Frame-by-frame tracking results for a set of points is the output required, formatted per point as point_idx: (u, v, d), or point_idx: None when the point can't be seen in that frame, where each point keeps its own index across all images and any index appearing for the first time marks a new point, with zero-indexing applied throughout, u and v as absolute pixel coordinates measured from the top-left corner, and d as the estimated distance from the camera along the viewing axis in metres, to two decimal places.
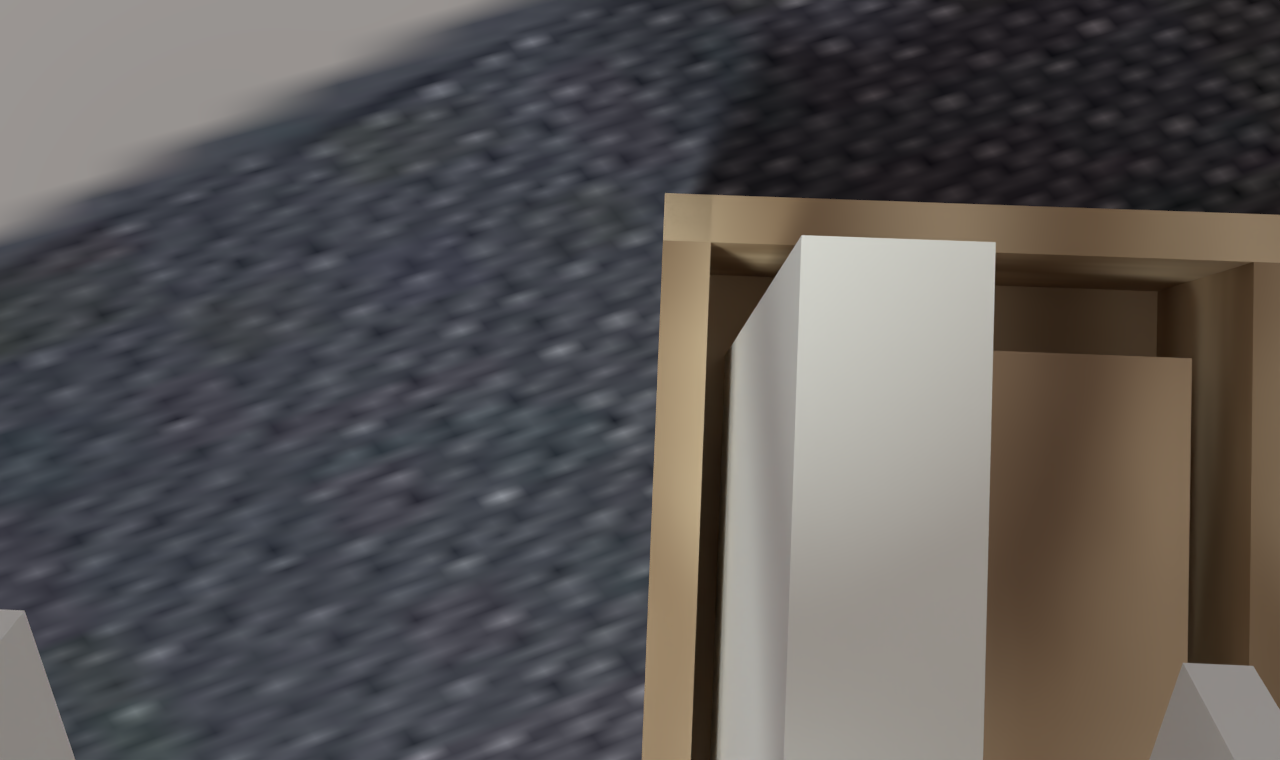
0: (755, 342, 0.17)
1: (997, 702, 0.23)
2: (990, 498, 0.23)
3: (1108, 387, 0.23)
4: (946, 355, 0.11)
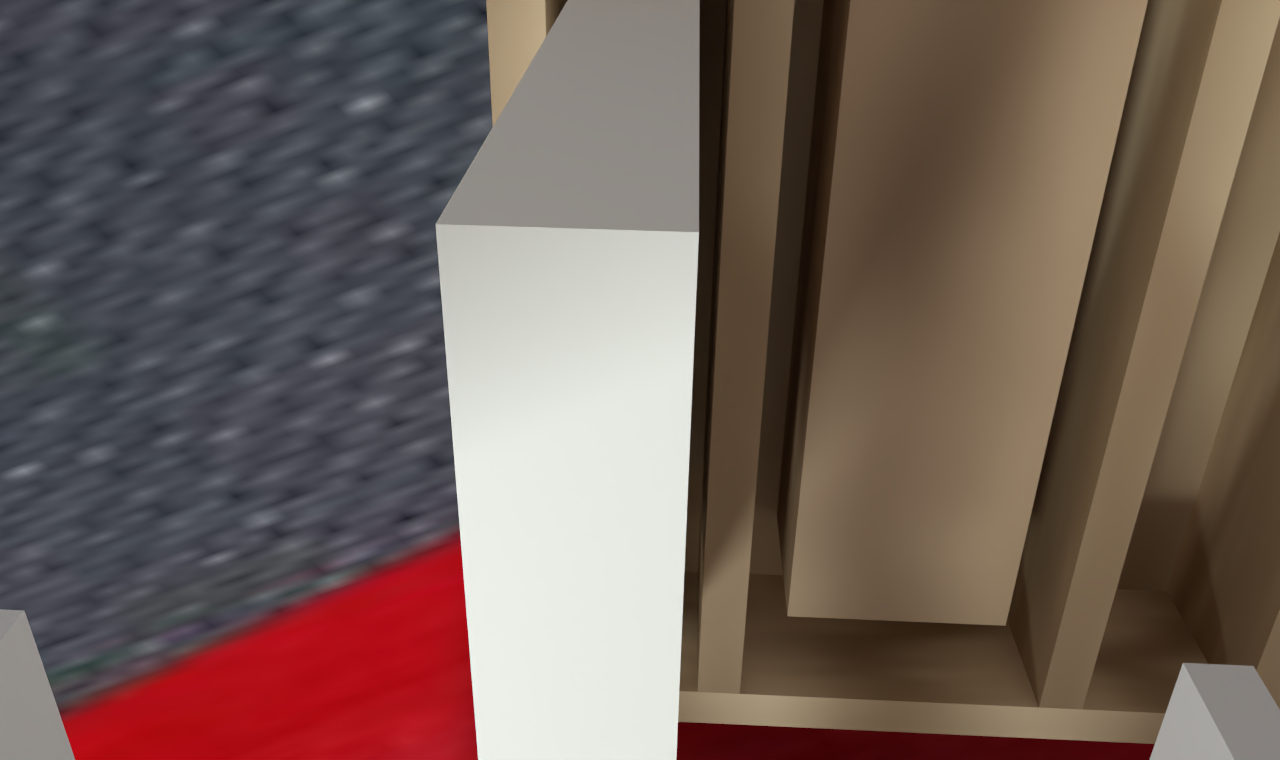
0: None
1: (869, 363, 0.22)
2: (882, 159, 0.20)
3: (1039, 27, 0.19)
4: (633, 370, 0.09)
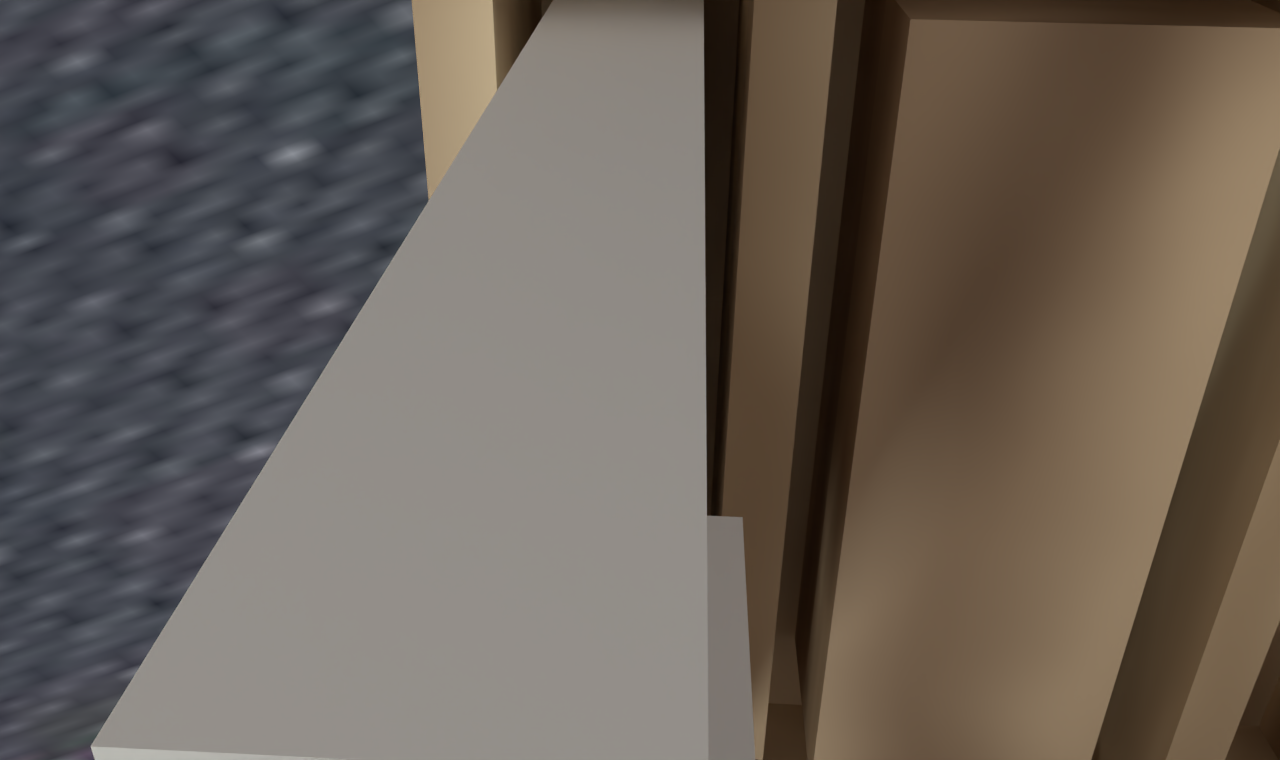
0: None
1: (919, 499, 0.17)
2: (944, 250, 0.15)
3: (1161, 81, 0.14)
4: None
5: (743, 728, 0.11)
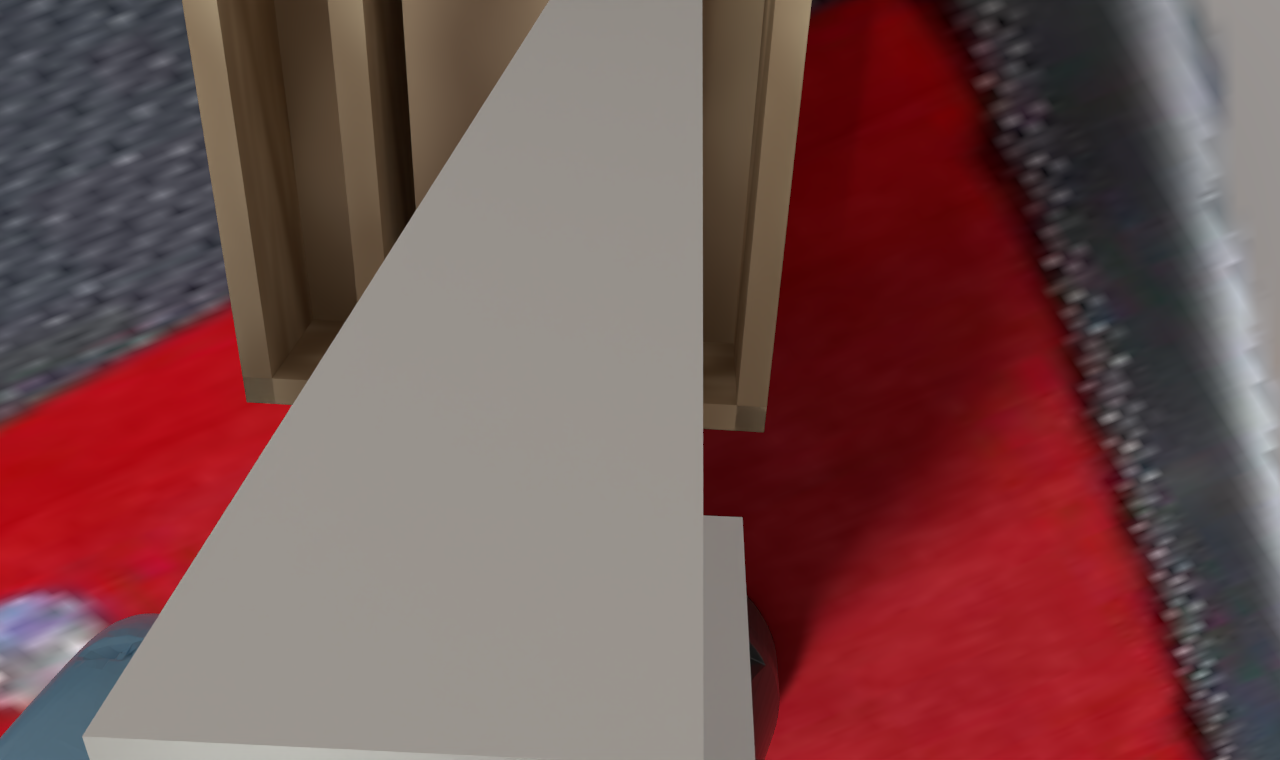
0: None
1: (446, 133, 0.33)
2: None
3: None
4: None
5: (743, 728, 0.11)
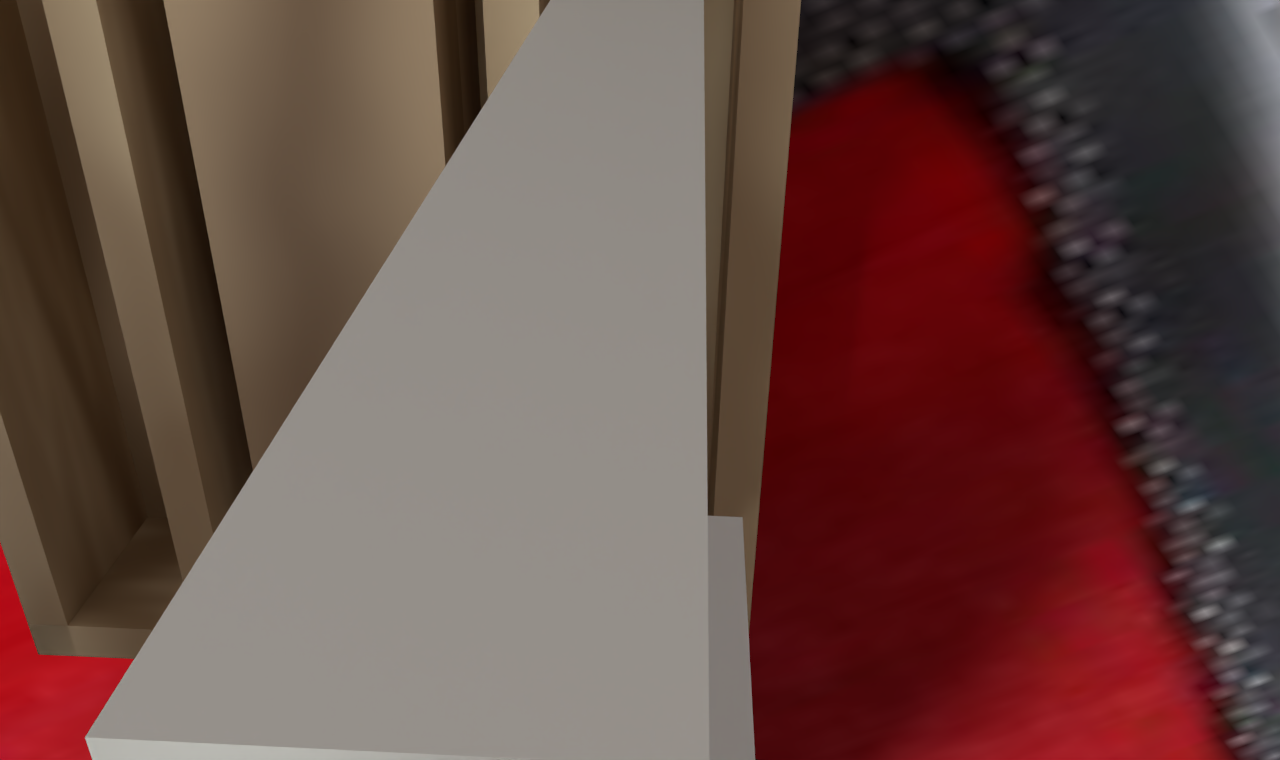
0: None
1: (273, 309, 0.23)
2: (230, 111, 0.21)
3: None
4: None
5: (743, 728, 0.11)
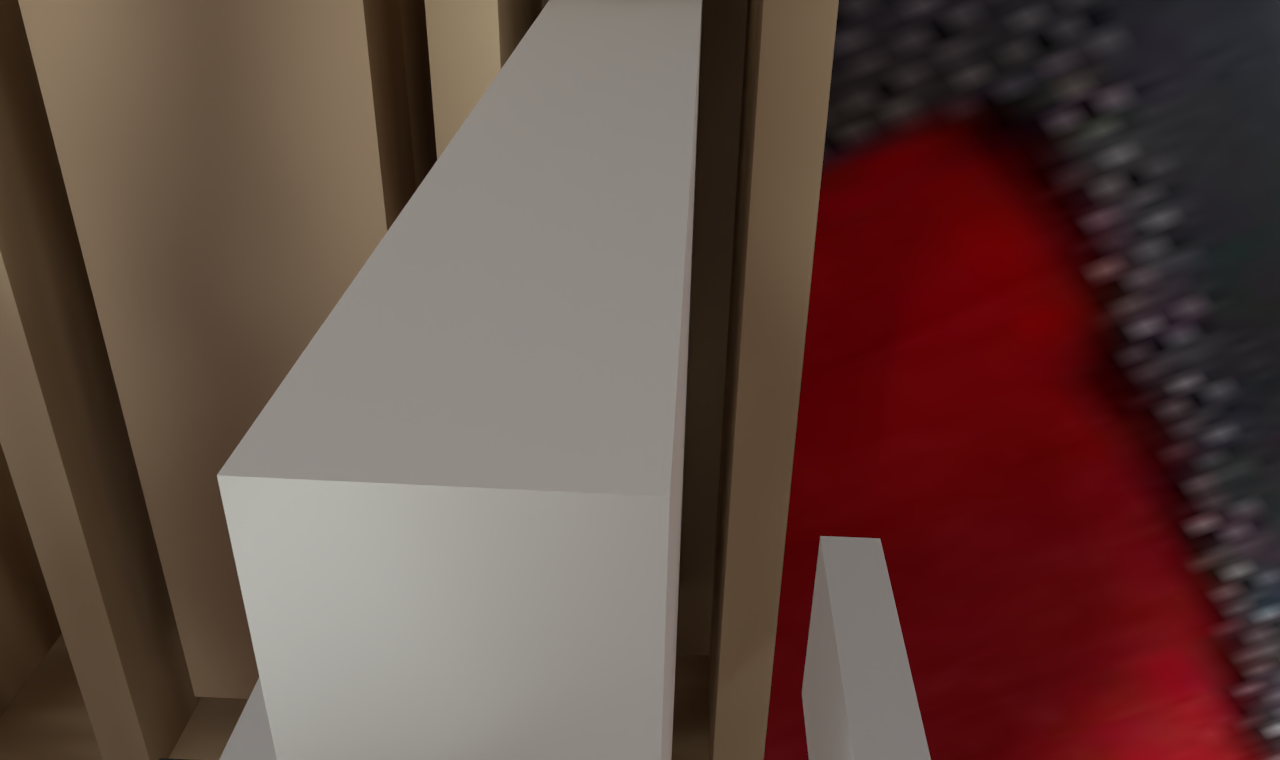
0: None
1: (186, 420, 0.19)
2: (122, 187, 0.17)
3: (247, 32, 0.16)
4: (565, 693, 0.05)
5: None
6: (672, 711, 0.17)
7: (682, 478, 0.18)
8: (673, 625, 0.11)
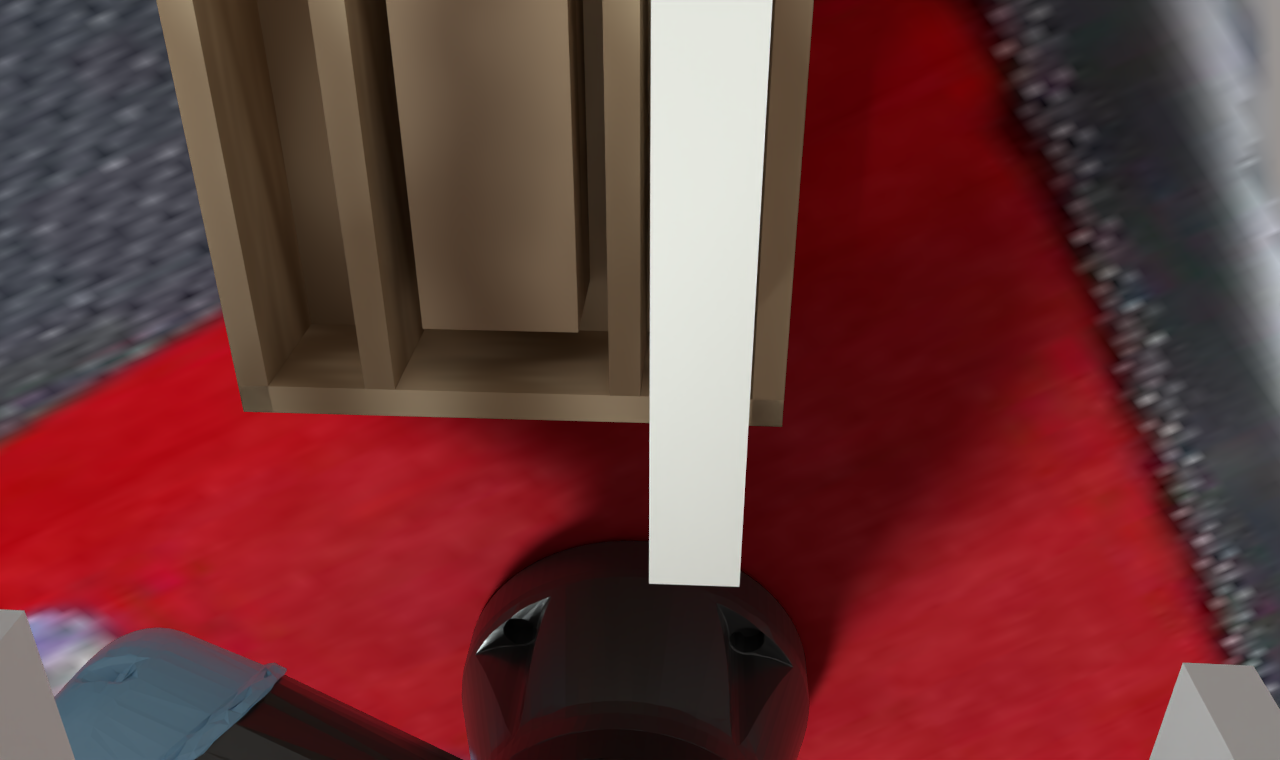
0: None
1: (437, 124, 0.32)
2: None
3: None
4: None
5: None
6: None
7: None
8: None
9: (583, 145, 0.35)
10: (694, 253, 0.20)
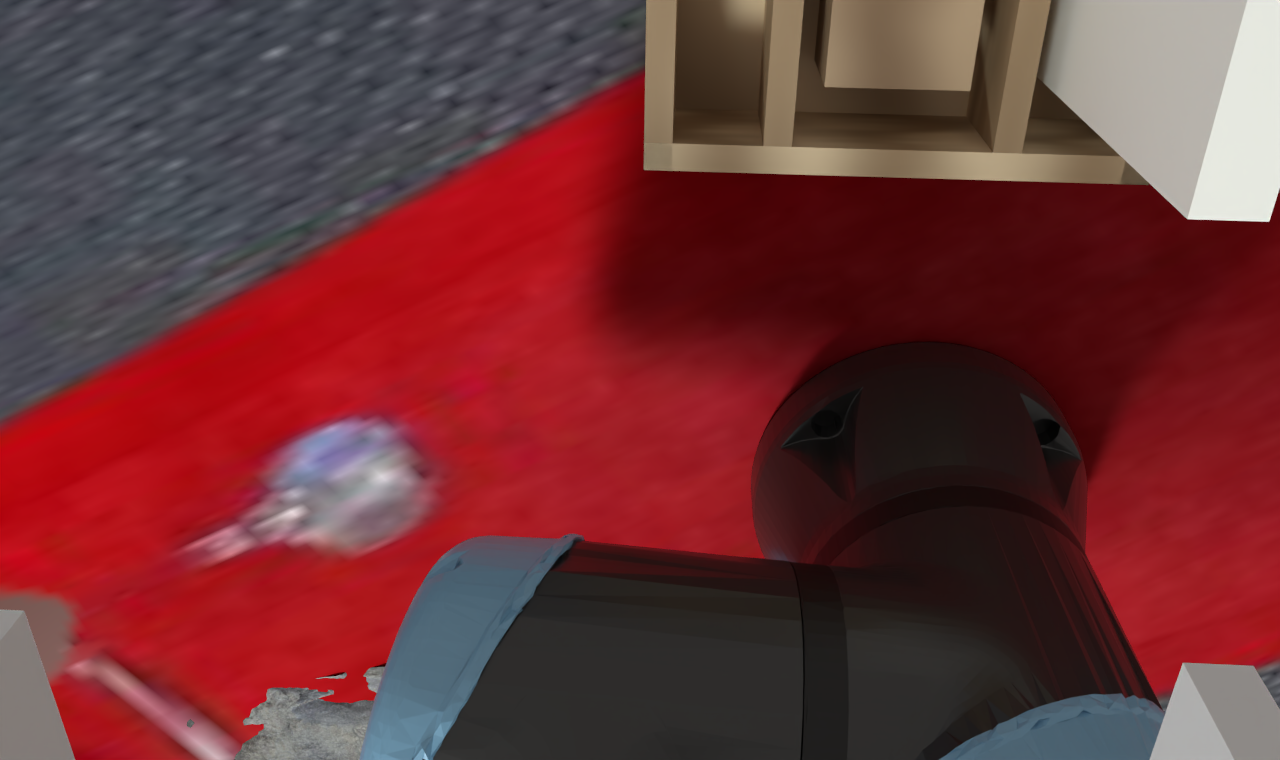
0: None
1: None
2: None
3: None
4: None
5: None
6: None
7: None
8: None
9: None
10: None
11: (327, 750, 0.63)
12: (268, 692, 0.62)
